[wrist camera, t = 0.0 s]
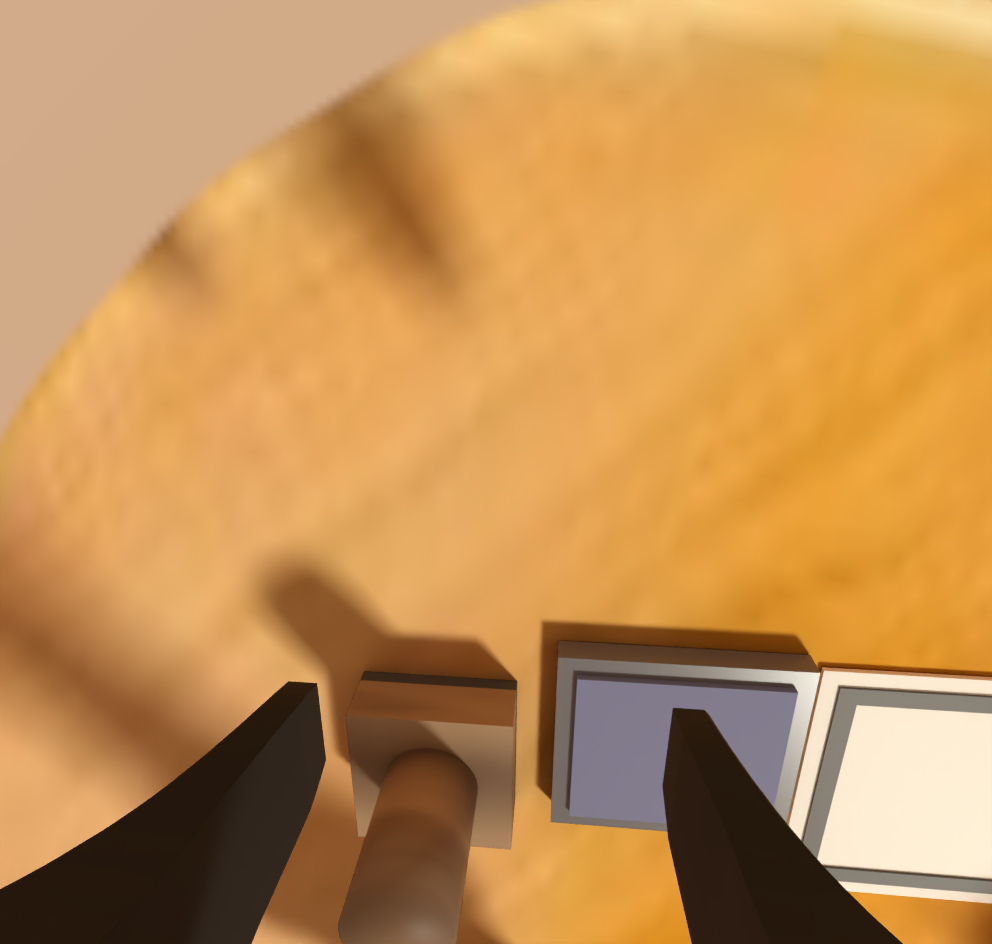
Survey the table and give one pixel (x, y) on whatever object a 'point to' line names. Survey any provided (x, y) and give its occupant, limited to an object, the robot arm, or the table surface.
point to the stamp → (425, 799)
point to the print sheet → (899, 783)
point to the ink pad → (647, 718)
